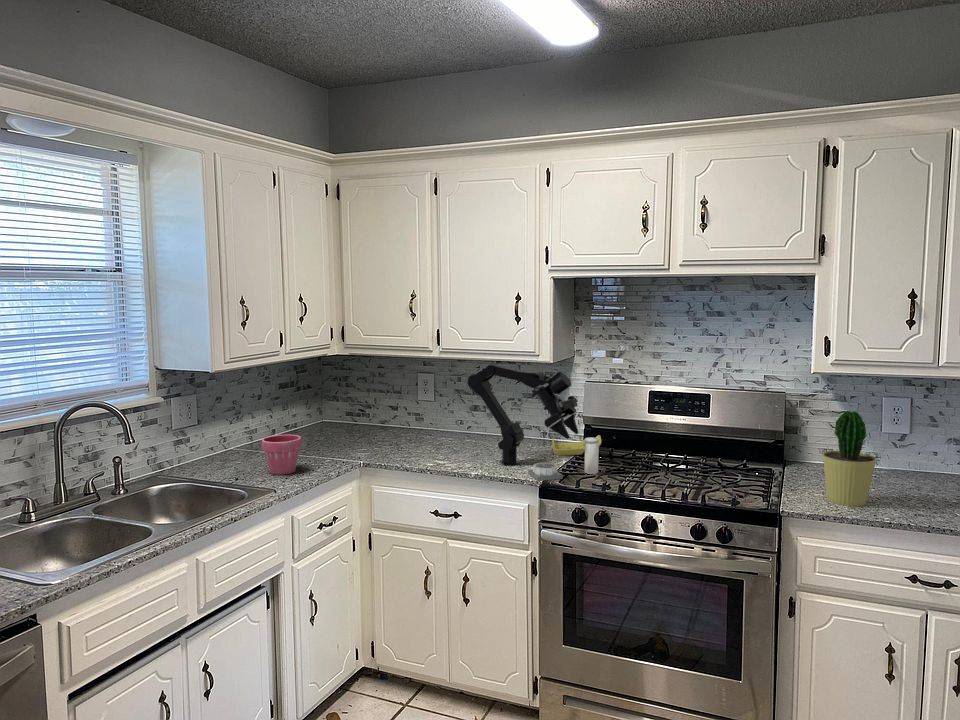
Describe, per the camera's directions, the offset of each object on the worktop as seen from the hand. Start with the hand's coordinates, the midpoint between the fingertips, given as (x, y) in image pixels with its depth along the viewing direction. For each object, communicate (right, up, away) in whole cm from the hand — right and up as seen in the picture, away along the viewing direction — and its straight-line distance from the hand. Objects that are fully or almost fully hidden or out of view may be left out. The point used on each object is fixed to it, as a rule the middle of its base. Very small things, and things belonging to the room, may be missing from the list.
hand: (573, 436), depth 268 cm
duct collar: (-11, -14, -5) cm, 19 cm away
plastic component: (+5, -11, +31) cm, 33 cm away
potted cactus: (+84, -18, -35) cm, 92 cm away
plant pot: (-108, -14, +1) cm, 109 cm away
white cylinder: (+7, -14, -1) cm, 15 cm away
